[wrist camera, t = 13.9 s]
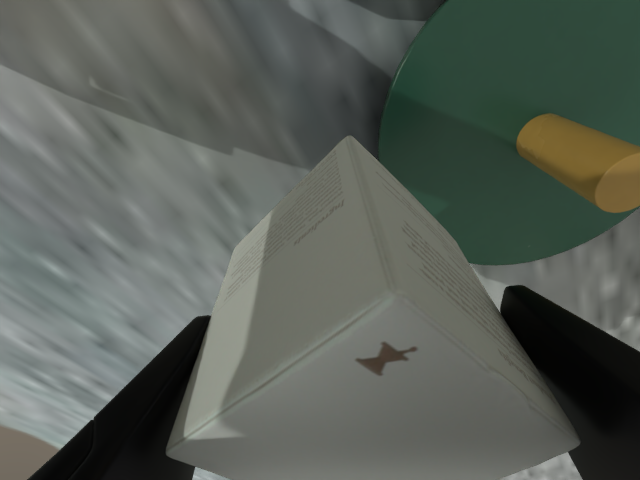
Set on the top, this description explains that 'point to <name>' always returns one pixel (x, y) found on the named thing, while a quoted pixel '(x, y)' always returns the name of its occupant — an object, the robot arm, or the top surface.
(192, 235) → the top surface
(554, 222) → the lid
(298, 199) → the product box
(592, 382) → the robot arm
